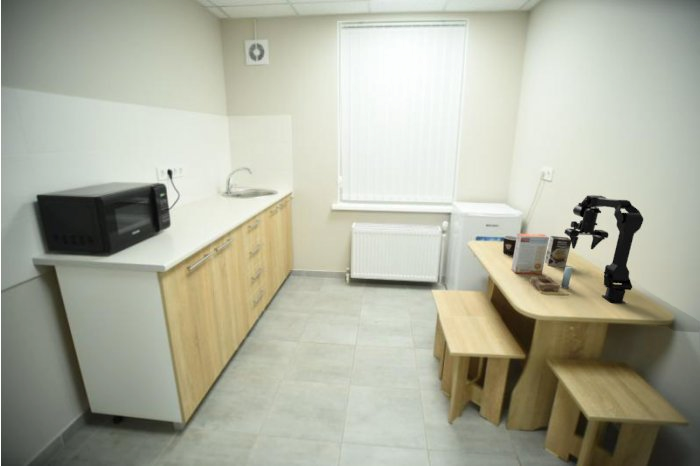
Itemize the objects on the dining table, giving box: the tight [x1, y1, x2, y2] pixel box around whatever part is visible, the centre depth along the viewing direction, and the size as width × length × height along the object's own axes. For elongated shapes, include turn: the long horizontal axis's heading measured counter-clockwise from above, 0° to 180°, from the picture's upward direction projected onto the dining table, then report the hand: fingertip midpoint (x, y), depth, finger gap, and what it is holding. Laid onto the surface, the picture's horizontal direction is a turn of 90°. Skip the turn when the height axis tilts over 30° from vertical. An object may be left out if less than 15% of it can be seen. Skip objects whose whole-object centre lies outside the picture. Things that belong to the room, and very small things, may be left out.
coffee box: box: [544, 235, 572, 268], centre depth 190 cm, size 9×6×16 cm
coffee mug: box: [502, 235, 517, 256], centre depth 206 cm, size 12×9×10 cm
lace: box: [538, 290, 570, 296], centre depth 158 cm, size 4×12×1 cm, turn 87°
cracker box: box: [511, 233, 550, 275], centre depth 177 cm, size 14×6×21 cm, turn 86°
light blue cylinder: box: [560, 266, 573, 289], centre depth 162 cm, size 3×3×10 cm
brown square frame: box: [529, 276, 561, 292], centre depth 162 cm, size 9×9×4 cm
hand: (582, 248), depth 174 cm, fingers open, 9 cm apart
